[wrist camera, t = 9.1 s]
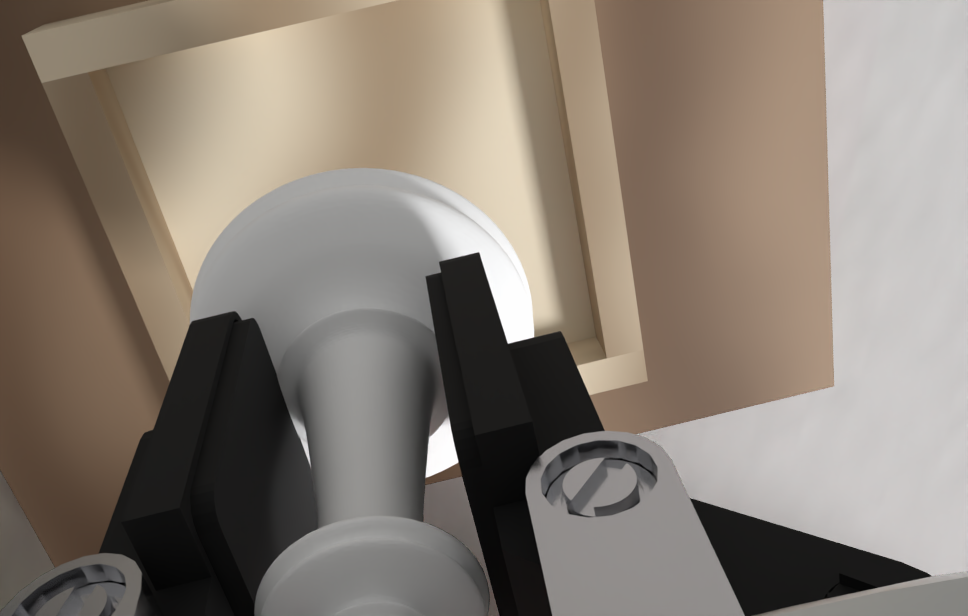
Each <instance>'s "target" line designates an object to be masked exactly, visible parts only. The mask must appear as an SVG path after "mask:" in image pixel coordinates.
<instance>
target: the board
mask: <svg viewBox="0 0 968 616" xmlns="http://www.w3.org/2000/svg"><path fill="white" fill-rule="evenodd" d="M348 168H376V169H387V170H394V171H399V172H404V173H408V174H412V175H416V176H419V177H422V178H425V179H428V180H431V181H433V182H436V183H438V184H440V185H443V186H445V187H447V188H449V189H451V190H453V191H454V192H456V193H458V194H459V195H461V196H463V197H464V198H466V199H467V200H469V201H470V202H471V203H473V204H474V205H475V206H477V207H478V208H479V209H480V210H482V211H483V212H484V213H485V214H486V215H487V216H488V217H489V218H490V219H491V220H492V221H493V222H494V223H495V224H496V225H497V226H498V228H499V229H500V230H501V231H502V232H503V234H504V235H505V236H506V238H507V239H508V241H509V242H510V244H511V245H512V247H513V249H514V250H515V252H516V254H517V256H518V258H519V260H520V262H521V264H522V267H523V269H524V272H525V275H526V278H527V281H528V285H529V289H530V294H531V300H532V310H533V323H534V337H537V336H541V335H546V334H550V333H554V332H558V331H561V332H562V334H563V336H564V338H565V340H566V342H567V345H568V347H569V349H570V352H571V354H572V356H573V359H574V361H575V363H576V365H577V368H578V370H579V372H580V375H581V377H582V379H583V382H584V384H585V386H586V388H587V391H588V393H589V395H590V398H591V400H592V402H593V405H594V407H595V409H596V411H597V414H598V416H599V418H600V421H601V423H602V425H603V428H604V430H605V431H617V432H628V433H632V434H638V433H643V432H647V431H651V430H655V429H659V428H663V427H667V426H671V425H676V424H680V423H684V422H688V421H692V420H696V419H700V418H705V417H709V416H713V415H717V414H721V413H725V412H729V411H733V410H738V409H742V408H746V407H750V406H754V405H758V404H762V403H766V402H771V401H775V400H779V399H783V398H787V397H791V396H795V395H800V394H804V393H808V392H812V391H816V390H820V389H824V388H828V387H833V386H834V368H833V333H832V298H831V263H830V228H829V193H828V158H827V123H826V88H825V53H824V18H823V0H0V470H1V472H2V474H3V476H4V478H5V479H6V481H7V483H8V485H9V486H10V488H11V490H12V492H13V494H14V495H15V497H16V499H17V501H18V502H19V504H20V506H21V508H22V510H23V511H24V513H25V515H26V517H27V519H28V520H29V522H30V524H31V526H32V527H33V529H34V531H35V533H36V535H37V536H38V538H39V540H40V542H41V543H42V545H43V547H44V549H45V551H46V552H47V554H48V556H49V558H50V560H51V561H52V563H53V565H54V567H55V568H56V567H58V566H60V565H61V564H64V563H67V562H70V561H72V560H75V559H78V558H81V557H84V556H89V555H95V554H98V553H99V551H100V548H101V545H102V542H103V540H104V537H105V534H106V531H107V529H108V526H109V523H110V520H111V518H112V515H113V512H114V509H115V507H116V504H117V501H118V498H119V496H120V493H121V490H122V488H123V485H124V482H125V479H126V477H127V474H128V471H129V468H130V466H131V463H132V460H133V457H134V455H135V452H136V449H137V446H138V444H139V441H140V439H141V437H142V436H143V434H144V433H145V432H148V431H150V430H153V429H154V426H155V423H156V420H157V417H158V415H159V412H160V409H161V406H162V403H163V400H164V397H165V394H166V392H167V389H168V386H169V383H170V380H171V377H172V374H173V371H174V369H175V366H176V363H177V360H178V357H179V354H180V351H181V348H182V346H183V343H184V340H185V337H186V334H187V331H188V328H189V325H190V307H191V300H192V294H193V290H194V285H195V282H196V279H197V276H198V273H199V271H200V268H201V266H202V263H203V261H204V259H205V257H206V255H207V253H208V252H209V250H210V248H211V247H212V245H213V244H214V242H215V241H216V239H217V238H218V237H219V235H220V234H221V233H222V231H223V230H224V229H225V228H226V227H227V226H228V225H229V224H230V223H231V221H232V220H233V219H234V218H235V217H236V216H238V215H239V214H240V213H241V212H242V211H243V210H244V209H245V208H247V207H248V206H249V205H251V204H252V203H253V202H255V201H256V200H258V199H259V198H261V197H262V196H264V195H266V194H267V193H269V192H271V191H273V190H275V189H276V188H278V187H280V186H282V185H285V184H287V183H289V182H292V181H294V180H297V179H300V178H303V177H306V176H309V175H313V174H317V173H321V172H326V171H331V170H339V169H348ZM461 476H462V474H461V470H460V466H459V462H458V463H456V464H455V465H453V466H451V467H449V468H447V469H445V470H443V471H441V472H439V473H437V474H434V475H432V476H429V477H427V478H426V479H425V485H428V484H432V483H436V482H440V481H444V480H448V479H452V478H457V477H461Z"/></svg>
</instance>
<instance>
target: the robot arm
mask: <svg viewBox="0 0 968 616" xmlns="http://www.w3.org/2000/svg"><path fill="white" fill-rule="evenodd" d="M439 265H440V270H441V273H437V274H432V275H428V276H425V277H426V283H427V289H428V295H429V301H430V307H431V313H432V319H433V325H434V331H435V337H436V343H437V349H438V355H439V361H440V367H441V372H442V378H443V384H444V390H445V396H446V402H447V408H448V414H449V420H450V426H451V431H452V436H453V441H454V445H455V450H456V454H457V458H458V462H459V466H460V470H461V474H462V477H463V481H464V485H465V489H466V492H467V496H468V500H469V504H470V507H471V511H472V515H473V518H474V522H475V526H476V530H477V533H478V537H479V541H480V544H481V548H482V552H483V556H484V559H485V563H486V567H487V571H488V574H489V578H490V582H491V585H492V589H493V593H494V597H495V600H496V604H497V608H498V611H499V615H500V616H968V572H960V573H953V574H946V575H938V576H931V575H929V574H928V573H926V572H923V571H921V570H919V569H916V568H914V567H912V566H909V565H907V564H904V563H902V562H899V561H896V560H892V559H889V558H886V557H883V556H879V555H876V554H873V553H869V552H866V551H863V550H859V549H856V548H853V547H849V546H846V545H843V544H840V543H836V542H833V541H830V540H826V539H823V538H820V537H816V536H813V535H810V534H807V533H803V532H800V531H797V530H793V529H790V528H787V527H783V526H780V525H777V524H773V523H770V522H767V521H764V520H760V519H757V518H754V517H750V516H747V515H744V514H740V513H737V512H734V511H731V510H727V509H724V508H721V507H717V506H714V505H711V504H707V503H704V502H701V501H698V500H694V499H691V498H689V496H688V494H687V492H686V490H685V487H684V485H683V483H682V481H681V479H680V477H679V475H678V472H677V470H676V468H675V466H674V464H673V462H672V460H671V459H670V457H669V456H668V455H667V453H666V452H665V451H664V450H663V448H662V447H660V446H659V445H657V444H656V443H654V442H652V441H651V440H649V439H648V438H645V437H642V436H639V435H635V434H632V433H628V432H617V431H605V430H604V428H603V425H602V423H601V421H600V418H599V416H598V414H597V411H596V409H595V407H594V405H593V402H592V400H591V398H590V395H589V393H588V391H587V388H586V386H585V384H584V382H583V379H582V377H581V375H580V372H579V370H578V368H577V365H576V363H575V361H574V359H573V356H572V354H571V352H570V349H569V347H568V345H567V342H566V340H565V338H564V336H563V334H562V332H561V331H558V332H554V333H550V334H546V335H541V336H537V337H533V338H529V339H525V340H521V341H517V342H513V343H508V342H507V339H506V336H505V333H504V330H503V327H502V323H501V320H500V317H499V314H498V311H497V307H496V304H495V301H494V298H493V295H492V292H491V288H490V285H489V282H488V279H487V276H486V272H485V269H484V266H483V263H482V260H481V256H480V253H479V252H477V253H473V254H469V255H465V256H461V257H456V258H452V259H448V260H444V261H440V262H439ZM317 529H318V516H317V507H316V501H315V493H314V485H313V477H312V470H311V467H310V464H309V461H308V458H307V456H306V453H305V450H304V448H303V445H302V442H301V439H300V437H299V436H298V434H297V431H296V429H295V426H294V424H293V421H292V419H291V416H290V414H289V411H288V408H287V405H286V403H285V400H284V397H283V394H282V391H281V388H280V385H279V382H278V378H277V374H276V371H275V368H274V366H273V363H272V360H271V357H270V355H269V352H268V349H267V346H266V344H265V341H264V338H263V335H262V333H261V330H260V328H259V325H258V323H257V322H256V320H255V319H254V318H250V319H246V320H242V319H241V318H240V316H239V314H238V313H237V312H236V311H232V312H228V313H223V314H219V315H215V316H211V317H207V318H203V319H198V320H194V321H192V322H191V323H190V325H189V328H188V331H187V334H186V337H185V340H184V343H183V346H182V348H181V351H180V354H179V357H178V360H177V363H176V366H175V369H174V371H173V374H172V377H171V380H170V383H169V386H168V389H167V392H166V394H165V397H164V400H163V403H162V406H161V409H160V412H159V415H158V417H157V420H156V423H155V426H154V429H153V430H150V431H148V432H145V433H144V434H143V436H142V437H141V439H140V441H139V444H138V446H137V449H136V452H135V455H134V457H133V460H132V463H131V466H130V468H129V471H128V474H127V477H126V479H125V482H124V485H123V488H122V490H121V493H120V496H119V498H118V501H117V504H116V507H115V509H114V512H113V515H112V518H111V520H110V523H109V526H108V529H107V531H106V534H105V537H104V540H103V542H102V545H101V548H100V551H99V553H98V554H95V555H89V556H84V557H81V558H78V559H75V560H72V561H70V562H67V563H64V564H61V565H60V566H58V567H56V568H54V569H52V570H50V571H49V572H47V573H45V574H43V575H41V576H39V577H38V578H37V579H35V580H34V581H33V582H31V583H30V584H29V585H27V586H26V587H25V588H24V589H22V590H21V591H20V592H18V593H17V594H16V596H15V597H14V598H13V599H12V600H11V601H10V602H9V603H8V604H7V605H6V606H5V607H4V608H3V609H2V611H1V612H0V616H254V608H255V600H256V594H257V591H258V588H259V585H260V583H261V581H262V578H263V577H264V575H265V573H266V572H267V570H268V568H269V567H270V566H271V564H272V563H273V562H274V560H275V559H276V558H277V557H278V556H279V555H280V554H281V553H282V552H283V551H284V550H286V549H287V548H288V547H289V546H290V545H291V544H293V543H294V542H296V541H297V540H299V539H300V538H302V537H303V536H305V535H306V534H308V533H311V532H313V531H315V530H317Z"/></svg>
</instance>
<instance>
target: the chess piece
mask: <svg viewBox="0 0 968 616" xmlns="http://www.w3.org/2000/svg"><path fill="white" fill-rule="evenodd" d="M477 252H479V253H480V256H481V260H482V263H483V266H484V269H485V272H486V276H487V279H488V282H489V285H490V288H491V292H492V295H493V298H494V301H495V304H496V307H497V311H498V314H499V317H500V320H501V323H502V327H503V330H504V333H505V336H506V339H507V342H508V343H513V342H517V341H521V340H525V339H529V338H533V337H534V323H533V310H532V300H531V294H530V289H529V285H528V281H527V278H526V275H525V272H524V269H523V267H522V264H521V262H520V260H519V258H518V256H517V254H516V252H515V250H514V249H513V247H512V245H511V244H510V242H509V241H508V239H507V238H506V236H505V235H504V234H503V232H502V231H501V230H500V229H499V228H498V226H497V225H496V224H495V223H494V222H493V221H492V220H491V219H490V218H489V217H488V216H487V215H486V214H485V213H484V212H483V211H482V210H480V209H479V208H478V207H477V206H475V205H474V204H473V203H471V202H470V201H469V200H467V199H466V198H464V197H463V196H461V195H459V194H458V193H456V192H454V191H453V190H451V189H449V188H447V187H445V186H443V185H440V184H438V183H436V182H433V181H431V180H428V179H425V178H422V177H419V176H416V175H412V174H408V173H404V172H399V171H394V170H387V169H376V168H348V169H339V170H331V171H326V172H321V173H317V174H313V175H309V176H306V177H303V178H300V179H297V180H294V181H292V182H289V183H287V184H285V185H282V186H280V187H278V188H276V189H275V190H273V191H271V192H269V193H267V194H266V195H264V196H262V197H261V198H259V199H258V200H256V201H255V202H253V203H252V204H251V205H249V206H248V207H247V208H245V209H244V210H243V211H242V212H241V213H240V214H239V215H238V216H236V217H235V218H234V219H233V220H232V221H231V223H230V224H229V225H228V226H227V227H226V228H225V229H224V230H223V231H222V233H221V234H220V235H219V237H218V238H217V239H216V241H215V242H214V244H213V245H212V247H211V248H210V250H209V252H208V253H207V255H206V257H205V259H204V261H203V263H202V266H201V268H200V271H199V273H198V276H197V279H196V282H195V285H194V290H193V294H192V300H191V307H190V323H191V322H192V321H194V320H198V319H203V318H207V317H211V316H215V315H219V314H223V313H228V312H232V311H236V312H237V313H238V314H239V316H240V318H241V319H242V320H246V319H250V318H254V319H255V320H256V322H257V323H258V325H259V328H260V330H261V333H262V335H263V338H264V341H265V344H266V346H267V349H268V352H269V355H270V357H271V360H272V363H273V366H274V368H275V371H276V374H277V378H278V382H279V385H280V388H281V391H282V394H283V397H284V400H285V403H286V405H287V408H288V411H289V414H290V416H291V419H292V421H293V424H294V426H295V429H296V431H297V434H298V436H299V437H300V439H301V442H302V445H303V448H304V450H305V453H306V456H307V458H308V461H309V464H310V467H311V470H312V477H313V485H314V493H315V501H316V507H317V516H318V529H317V530H315V531H313V532H311V533H308V534H306V535H305V536H303V537H302V538H300V539H299V540H297V541H296V542H294V543H293V544H291V545H290V546H289V547H288V548H287V549H286V550H284V551H283V552H282V553H281V554H280V555H279V556H278V557H277V558H276V559H275V560H274V562H273V563H272V564H271V566H270V567H269V568H268V570H267V572H266V573H265V575H264V577H263V578H262V581H261V583H260V585H259V588H258V591H257V594H256V600H255V608H254V616H487V615H488V610H489V588H488V583H487V579H486V577H485V574H484V571H483V569H482V567H481V565H480V564H479V562H478V561H477V559H476V558H475V556H474V555H473V554H472V553H471V551H470V550H469V549H468V548H467V547H466V546H465V545H464V544H462V543H461V542H460V541H459V540H457V539H456V538H455V537H453V536H452V535H450V534H448V533H447V532H445V531H443V530H441V529H439V528H437V527H434V526H432V525H430V524H427V523H424V522H423V508H424V493H425V479H426V478H427V477H429V476H432V475H434V474H437V473H439V472H441V471H443V470H445V469H447V468H449V467H451V466H453V465H455V464H456V463H458V458H457V454H456V450H455V445H454V441H453V436H452V431H451V426H450V420H449V414H448V408H447V402H446V396H445V390H444V384H443V378H442V372H441V367H440V361H439V355H438V349H437V343H436V337H435V331H434V325H433V319H432V313H431V307H430V301H429V295H428V289H427V283H426V277H425V276H428V275H432V274H437V273H441V270H440V265H439V262H440V261H444V260H448V259H452V258H456V257H461V256H465V255H469V254H473V253H477Z"/></svg>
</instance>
